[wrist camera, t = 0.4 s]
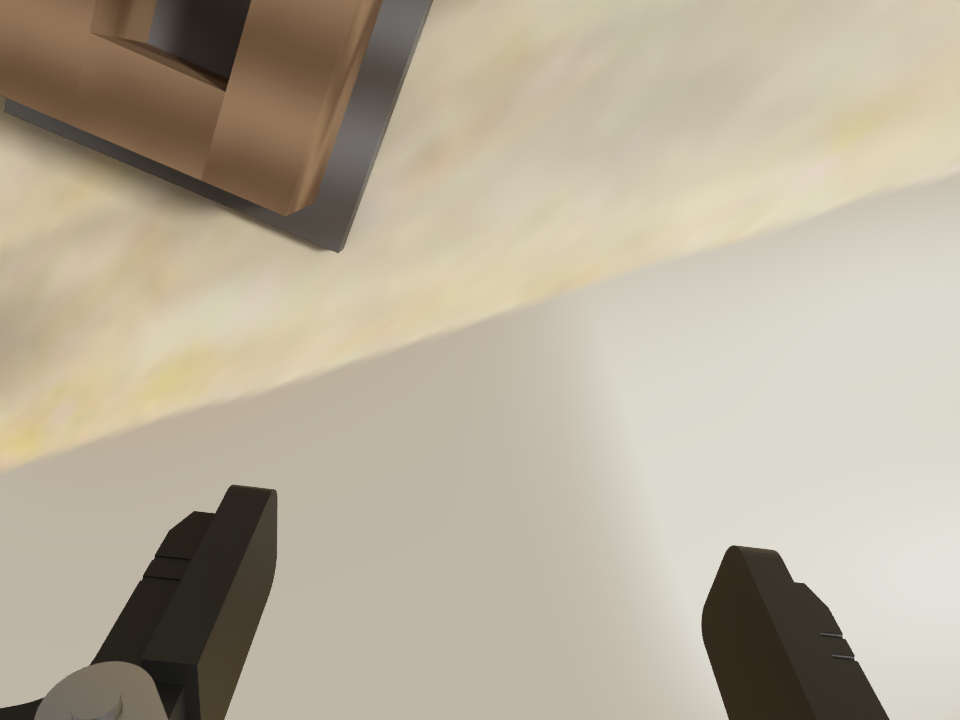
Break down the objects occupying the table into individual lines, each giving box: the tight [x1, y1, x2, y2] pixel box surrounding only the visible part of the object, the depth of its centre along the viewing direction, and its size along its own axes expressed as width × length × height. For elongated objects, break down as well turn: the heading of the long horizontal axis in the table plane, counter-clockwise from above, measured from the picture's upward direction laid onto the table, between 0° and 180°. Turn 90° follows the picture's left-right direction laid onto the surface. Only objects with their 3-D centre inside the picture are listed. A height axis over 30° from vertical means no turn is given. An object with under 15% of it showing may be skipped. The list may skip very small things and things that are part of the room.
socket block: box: [0, 0, 433, 253], centre depth 32 cm, size 18×18×6 cm
